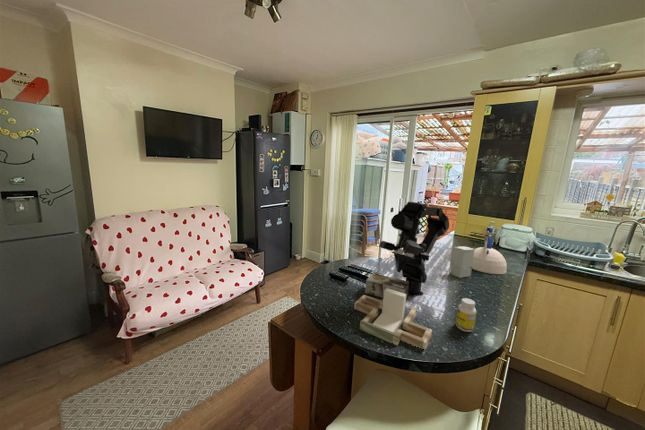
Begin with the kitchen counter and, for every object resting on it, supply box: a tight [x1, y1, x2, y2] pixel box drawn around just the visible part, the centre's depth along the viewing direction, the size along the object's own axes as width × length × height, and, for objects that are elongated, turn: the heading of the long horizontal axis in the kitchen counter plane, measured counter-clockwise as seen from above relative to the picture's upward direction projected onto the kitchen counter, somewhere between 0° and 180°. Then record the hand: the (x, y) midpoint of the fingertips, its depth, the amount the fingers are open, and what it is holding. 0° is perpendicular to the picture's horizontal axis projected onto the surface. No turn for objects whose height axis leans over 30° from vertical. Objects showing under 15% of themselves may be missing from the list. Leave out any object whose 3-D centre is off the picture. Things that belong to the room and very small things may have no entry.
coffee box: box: [364, 272, 409, 300], centre depth 107 cm, size 9×6×16 cm
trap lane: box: [353, 294, 433, 351], centre depth 88 cm, size 21×27×3 cm
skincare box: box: [450, 246, 476, 279], centre depth 132 cm, size 8×6×15 cm
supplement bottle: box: [455, 297, 477, 333], centre depth 86 cm, size 5×5×10 cm
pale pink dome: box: [472, 236, 508, 275], centre depth 145 cm, size 20×21×18 cm
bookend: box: [372, 288, 407, 333], centre depth 86 cm, size 11×7×10 cm, turn 145°
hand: (398, 271), depth 100 cm, fingers closed
